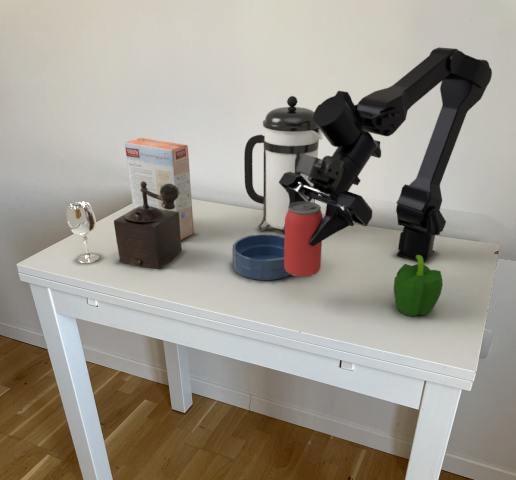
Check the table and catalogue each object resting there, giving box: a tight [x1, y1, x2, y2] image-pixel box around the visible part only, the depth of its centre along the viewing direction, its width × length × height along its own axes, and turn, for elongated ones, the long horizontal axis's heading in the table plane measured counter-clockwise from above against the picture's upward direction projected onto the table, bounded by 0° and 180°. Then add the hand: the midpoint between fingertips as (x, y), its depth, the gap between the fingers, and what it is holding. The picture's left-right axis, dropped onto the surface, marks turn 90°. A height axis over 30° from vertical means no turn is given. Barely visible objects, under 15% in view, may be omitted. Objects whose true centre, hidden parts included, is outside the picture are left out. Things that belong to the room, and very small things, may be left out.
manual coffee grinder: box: [113, 181, 183, 269], centre depth 113 cm, size 16×11×18 cm
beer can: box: [284, 202, 324, 278], centre depth 95 cm, size 7×7×12 cm
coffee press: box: [243, 95, 324, 232], centre depth 125 cm, size 17×16×30 cm
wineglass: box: [66, 201, 100, 264], centre depth 115 cm, size 6×6×12 cm
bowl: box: [231, 233, 291, 281], centre depth 114 cm, size 14×14×4 cm
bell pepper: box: [393, 255, 444, 317], centre depth 96 cm, size 8×8×10 cm
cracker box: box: [124, 137, 195, 241], centre depth 125 cm, size 14×6×21 cm, turn 58°
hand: (297, 238), depth 94 cm, fingers closed on beer can, 6 cm apart
